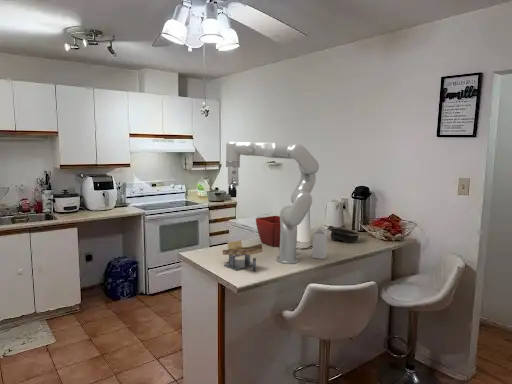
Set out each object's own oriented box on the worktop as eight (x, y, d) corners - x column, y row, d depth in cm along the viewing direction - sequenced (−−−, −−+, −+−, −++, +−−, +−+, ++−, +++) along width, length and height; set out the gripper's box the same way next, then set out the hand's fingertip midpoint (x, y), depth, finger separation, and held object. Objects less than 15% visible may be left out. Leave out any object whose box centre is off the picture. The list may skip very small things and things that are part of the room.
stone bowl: (320, 239, 255) (321, 226, 254) (337, 236, 274) (338, 224, 274) (352, 246, 239) (354, 232, 239) (368, 242, 258) (369, 229, 258)
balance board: (222, 254, 196) (222, 247, 196) (235, 251, 203) (234, 244, 203) (250, 254, 181) (249, 247, 181) (262, 251, 187) (261, 244, 187)
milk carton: (312, 257, 212) (313, 226, 210) (314, 254, 218) (316, 224, 216) (324, 259, 209) (325, 227, 207) (326, 256, 216) (327, 225, 214)
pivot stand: (219, 264, 195) (219, 252, 194) (238, 259, 205) (238, 247, 204) (245, 274, 181) (245, 261, 180) (264, 268, 191) (265, 256, 190)
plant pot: (272, 249, 228) (273, 223, 226) (254, 242, 243) (254, 218, 241) (294, 244, 240) (295, 220, 238) (275, 238, 255) (276, 215, 253)
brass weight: (228, 251, 196) (227, 242, 196) (235, 249, 200) (234, 240, 200) (235, 251, 192) (234, 241, 192) (242, 249, 195) (241, 240, 195)
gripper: (242, 165, 185) (241, 198, 187) (237, 164, 202) (236, 194, 204) (227, 165, 183) (227, 198, 186) (224, 163, 200) (223, 194, 202)
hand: (232, 196), depth 195 cm, fingers open, 9 cm apart
